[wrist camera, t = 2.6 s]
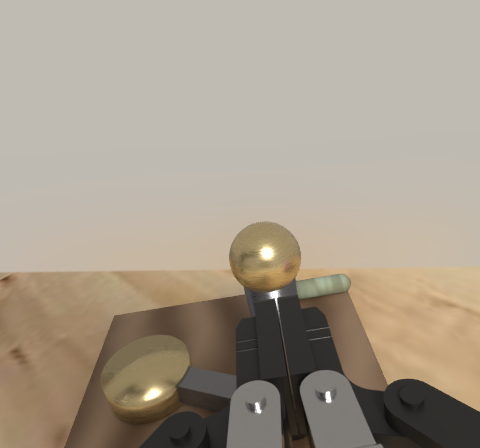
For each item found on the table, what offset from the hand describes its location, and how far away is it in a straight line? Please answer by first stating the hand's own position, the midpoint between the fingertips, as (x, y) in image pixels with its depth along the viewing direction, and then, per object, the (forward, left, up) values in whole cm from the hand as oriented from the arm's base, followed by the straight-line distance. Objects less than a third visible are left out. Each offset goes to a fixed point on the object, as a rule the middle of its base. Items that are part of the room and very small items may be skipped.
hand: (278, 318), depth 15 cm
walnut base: (-5, +16, -18) cm, 25 cm away
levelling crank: (-6, +12, -16) cm, 21 cm away
